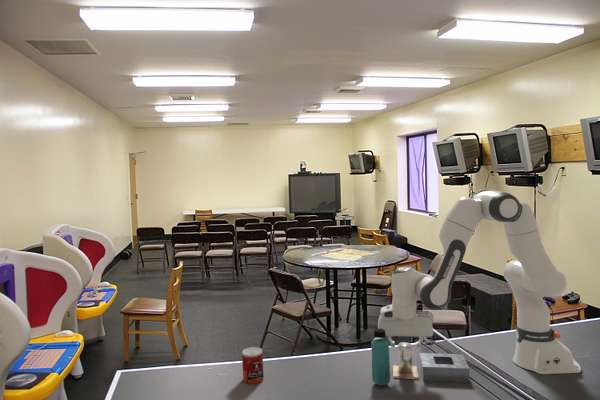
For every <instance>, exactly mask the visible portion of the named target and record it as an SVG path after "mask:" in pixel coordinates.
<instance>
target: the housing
mask: <svg viewBox="0 0 600 400" xmlns="http://www.w3.org/2000/svg"><path fill="white" fill-rule="evenodd" d="M419 368H420V372H421V376H422V380H423V381H432V382H433V381H435V382H436V381H437V382H456V383H470V380H471V378H470V373H471V372H470V367H469V365H468V362H467V360H466V358H465V356H464V354H460V353H459V354H456V353H455V354H454V353H431V352H430V353H428V352H427V353H426V352H419Z"/></svg>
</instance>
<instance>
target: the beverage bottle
mask: <svg viewBox="0 0 600 400" xmlns="http://www.w3.org/2000/svg"><path fill="white" fill-rule="evenodd" d="M373 337H374V338H373V339H372V340H371V341H370V344H371V346H370V347H371V373H372V374H371V375H372V376H371V378H372V381H373V383H374V384H376V385H380V386H381V385H382V386H384V385H387V384H389V383H390V382H391V365H390V364H391V362H390V358H391V356H390V341H389V340H388V339H386V338H385V337H387V336H386V334H385V330H384V329H378V328H375V329H374V331H373Z"/></svg>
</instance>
